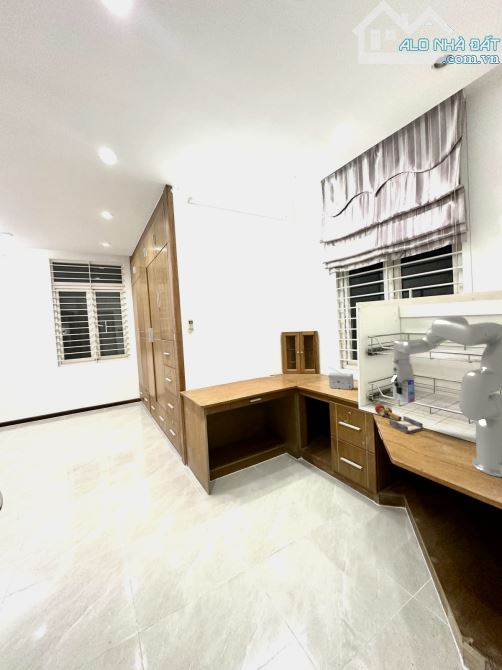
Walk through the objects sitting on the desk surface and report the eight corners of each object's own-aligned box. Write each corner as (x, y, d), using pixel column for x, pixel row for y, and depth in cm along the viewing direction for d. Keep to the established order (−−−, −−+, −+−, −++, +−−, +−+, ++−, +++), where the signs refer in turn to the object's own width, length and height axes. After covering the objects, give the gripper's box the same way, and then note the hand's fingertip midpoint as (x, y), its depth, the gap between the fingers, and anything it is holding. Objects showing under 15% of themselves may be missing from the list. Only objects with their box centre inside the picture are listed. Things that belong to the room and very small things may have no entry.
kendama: (405, 421, 158) (381, 408, 175) (404, 412, 157) (380, 400, 173) (395, 426, 156) (372, 413, 173) (395, 417, 155) (371, 404, 171)
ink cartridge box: (415, 401, 142) (414, 375, 142) (409, 403, 140) (407, 377, 139) (399, 397, 152) (398, 373, 151) (393, 399, 150) (391, 374, 149)
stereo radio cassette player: (354, 388, 231) (352, 366, 230) (351, 390, 224) (350, 368, 223) (331, 386, 244) (329, 365, 242) (328, 388, 237) (326, 367, 236)
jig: (422, 430, 143) (422, 423, 142) (406, 433, 140) (406, 427, 140) (405, 422, 154) (404, 416, 154) (389, 425, 152) (389, 419, 151)
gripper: (394, 364, 139) (396, 397, 140) (420, 360, 143) (421, 392, 144) (384, 362, 146) (386, 393, 147) (408, 358, 150) (410, 388, 151)
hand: (403, 392), depth 146 cm, fingers closed on ink cartridge box, 5 cm apart
